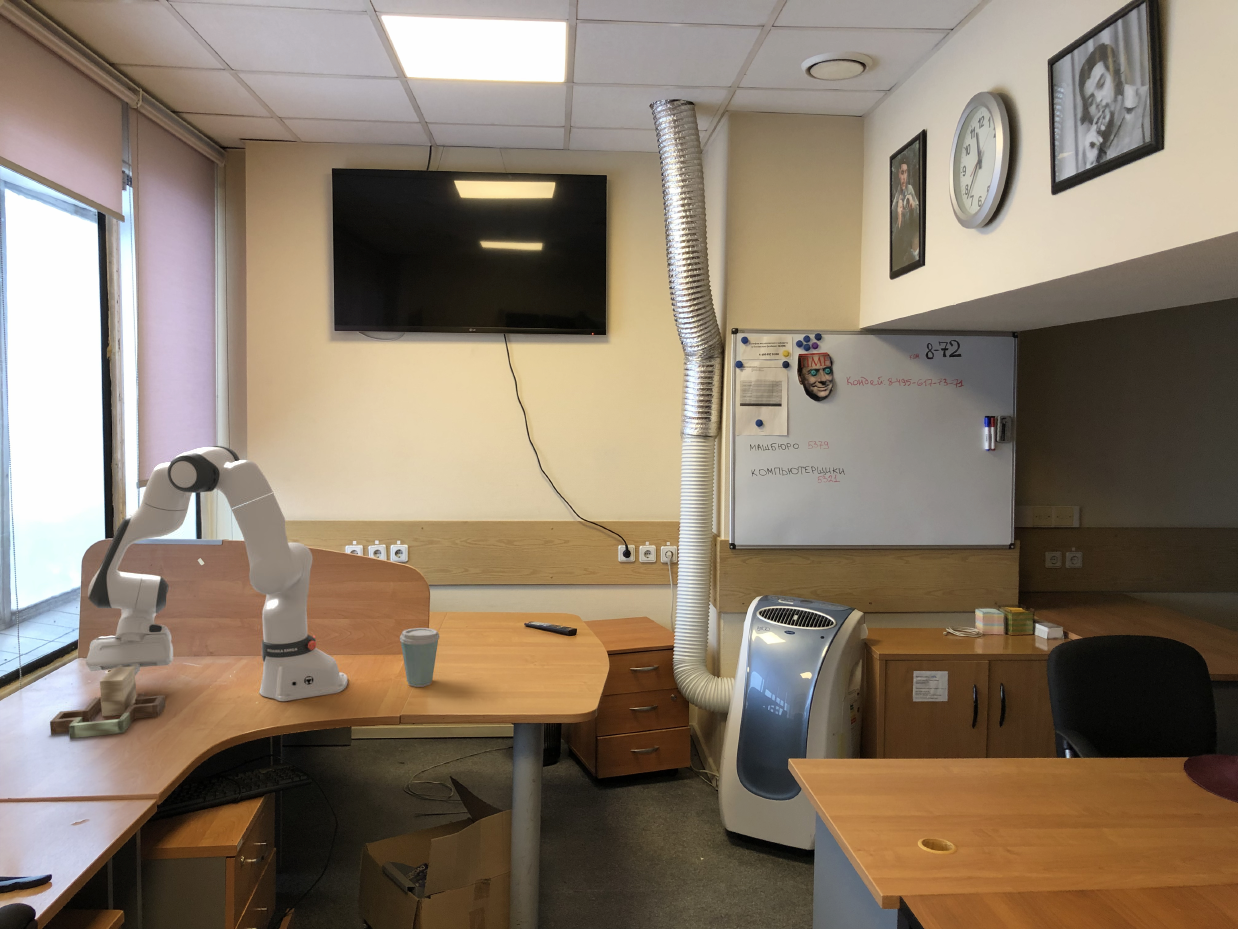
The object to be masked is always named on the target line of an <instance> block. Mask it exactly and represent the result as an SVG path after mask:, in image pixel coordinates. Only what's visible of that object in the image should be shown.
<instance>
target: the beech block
mask: <svg viewBox="0 0 1238 929" xmlns="http://www.w3.org/2000/svg"><path fill="white" fill-rule="evenodd" d="M136 686H137V685H136V675H135V667H134V666H133V667H121V668H113V669H112V670H110V671H108V672H107V673H106V675H105V676H103V678H102V679H100V681H99V688H100V697H101V713H102V714H101V715H102V717H112V716H122V715H123V714H124V713H125V711H126V710H127V709H128V708H129V706H130V705H134V704H135V699H136V698H137V688H136Z"/></svg>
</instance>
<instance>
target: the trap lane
mask: <svg viewBox="0 0 1238 929" xmlns="http://www.w3.org/2000/svg"><path fill="white" fill-rule="evenodd" d="M165 701H166V700H165V695H164V694H163V695H151V696H146V693H143V692H142V693H139V694H138V695H136V699H135V702H134V704H133V705H130V706H129V708H128V709H127V710H126V711H125V713H124V714H123V715H120V718H119V719H118V718H117V719H108V720H107V719H106V720H97V721H92V719H94V717H95V716H96V715H97V714H98V713H99V712H100V711H101V710H102V704H101V696H99V697H94V699H93V700H91V702H90V703H89V704H88V705H87V706H86V707H85V708H84V709H75V710H74V709H73V710H62V711H59V712H58V713H57V714H56V715H55V716H54V717H53V718H52V719H51V720H50V722H49V726H50V735H55V734H64V733H69V734H68V735H69V739H73V738H74V739H75V738H84V737H85V738H86V737H94V736H95V737H96V736H104V735H116V734H124V733H125V732H126V731H127V729H128V728H129V726H131V724H132V723H133V722H134V720H135V719H141V718H142V719H143V718H153V717H159V715H160V714H161V713H162V712H163V710H164V709H165V704H166V703H165Z"/></svg>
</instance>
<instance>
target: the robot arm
mask: <svg viewBox="0 0 1238 929" xmlns="http://www.w3.org/2000/svg"><path fill="white" fill-rule="evenodd" d="M214 490H217V491H220V492H221V493H222V494H223V495H224V497H225V499H226V500H227V503H228V506H229V507H230V510H231V512H232V514H233V516H234V518H235V520H236V523H237V525H238V528H239V530H240V532H241V534H242V537H243V540H244V541H243V542H244V545H245V549H246V550H245V551H246V554H247V558H248V563H249V573H248V579H249V583H250V585H251V587H252V588H253V589H254V590H255V591H256V592H258V593H260V594H262V595H266V596H265V601H264V605H263V608H262V615H261V616H262V633H263V634H262V637H263V639H262V641H261V659H262V662H263V670H262V677H261V682H260V684H261V685H260V689H259V694H260V695H261V696H263V697H266V698H270V699H275V700H276V701H279V702H287V701H294V700H300V699H301V700H302V699H305V698H311V697H313V698H314V697H318V696H325V695H332V694H338V693H340V692H342V691H343V690H345V689H346V687H347V686H348V676H347V674H345V673H343V672H340V670H339V666H338V663H337V662H336V660H335V658H334V657H332V656H331V655H329V654H328V653H325V652H324V651H322V650H320V649H318V648H317V639H316V636H315V635H313V636H312V635H310V634H308V617H307V615H308V613H307V611H308V610H307V609H308V608H307V605H308V604H307V603H308V595H309V590H310V579H311V571H312V565H313V561H314V560H313V554H312V551H311V549H310V548H309V547H307V545H305V544H303V543H300V542H296V541H295V542H292V541H291V542H289V541H288V536H287V531H286V519H285V518H286V517H285V516H284V513H283V511H282V509H281V507H280V505H279V503H278V500H277V498H276V496H275V494H274V491H273V490H272V487H271V485H270V483H269V481H268V479H267V478H266V476H265V475H264V473H263V472H262V470H261V468H260V467H259V466H258V465H257V464H256V463H255V462H254V461H252V460H250V459H249V460H248V459H240V457H239V455H238V453H236V452H235V450H233V449H231V448H230V447H227V446H224V445H223V446H222V445H213V446H211V447H209V446H207V447H199V448H195V449H191V450H190V451H185V452H184V451H183V452H182V453H180V454H178V455H177V456H175V457H174V458H173V459H172V461H169V462H164V463H163V462H162V463H159V464H158V465H156V466H155V467H154V469H153V470H152V472H151V474H150V477H149V478H148V480H147V483H146V486H145V489H144V492H143V496H142V501H141V503H140V505H139V507H138V508H137V509H136V511H135V512H134V513H131V514H130V515H126V516H125V517H124V518H123V519H122V520H121V522H120V523H119V525H118V528H117V530H116V532H115V533H114V535H113V537H112V539H111V542H110V545H109V546H108V548H107V551H106V552H105V555H104V556H103V559H102V561H101V564H100V566H99V568H98V569H97V572H96V573H95V575H94V576H93V577H92V579H91V581H90V583H89V585H88V588H87V589H88V590H87V598H88V600H89V601H90V602H91V604H93V605H94V607H96V608H97V609H120V614H121V616H120V618H119V620H118V623H117V627H116V633H115V635H108V636H98V637H96V638H94V639H93V640H91V641H90V644H89V648H88V649H89V650H88V654H87V657H86V658H85V666H86V667H87V669H88V670H89V671H90V672H97V671H98V672H99V671H109V670H110V671H111V670H112V669H113V668H121V667H133V666H134V667H135V676H137V675H138V673H139V672H140V671H141V668H146V667H147V668H148V667H149V668H150V667H163V666H169V665H170V664H171V663H172V662H173V660H174V646H173V643H172V638H173V637H172V634H171V632H170V630H169V628H168V626H165V625H163V624H157V623H156V622H155V617H156V615H157V614H159V613H160V612H161V611H163V610H164V609H165V608H166V606H167V594H168V591H169V584H168V583H167V581H166V579H164V578H163V577H162V576H159V575H154V574H146V573H145V574H144V573H142V574H141V573H136V572H135V573H133V572H125V571H120V570H118V568H119V567H120V565H121V562H122V560H123V557H124V556H125V553H126V552H127V549H128V548H129V547H130V546H131V545H132V544H135V543H136V542H140V541H143V540H147V539H154V538H159V537H164V536H167V535H169V534H171V533H174V532H176V531H177V530H178V529H180V528H181V527H182V525H183V524H184V521H185V520H186V517H187V514H188V510H189V505H190V502H191V497H192V494H194V493H195V494H196V493H211V492H213V491H214Z"/></svg>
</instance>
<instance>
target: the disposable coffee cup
mask: <svg viewBox="0 0 1238 929" xmlns="http://www.w3.org/2000/svg"><path fill="white" fill-rule="evenodd" d="M439 639H440V633H439V632H438V631H437V630H436V629H434V628H428V627H416V628H408V629H404V630H403V631H402V632H401V634H400V636H399V641H400V645H401V650H402V658H403V664H404V669H405V670H404V671H405V676H406V677H405V678H406V682H407V683H408V685H409V686H411V687H415V688H423V687H427V686H429V685H431V683H432V681H433V678H434V671H435V665H436V658H437V652H438V651H437V650H438V645H439Z"/></svg>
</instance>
